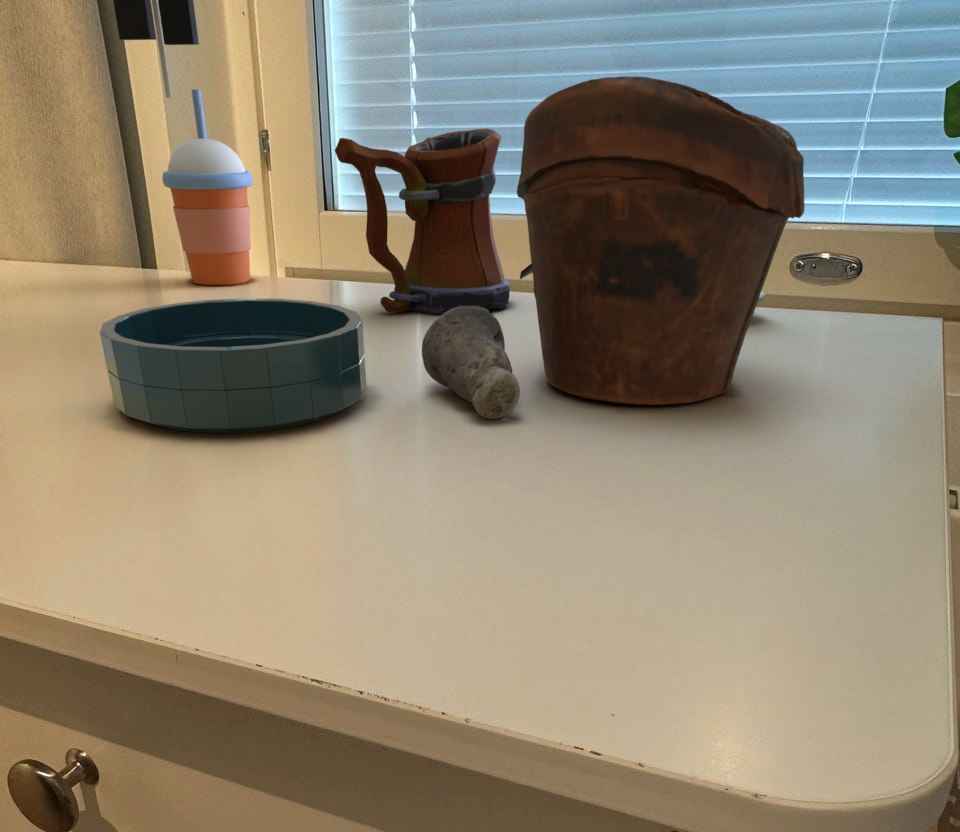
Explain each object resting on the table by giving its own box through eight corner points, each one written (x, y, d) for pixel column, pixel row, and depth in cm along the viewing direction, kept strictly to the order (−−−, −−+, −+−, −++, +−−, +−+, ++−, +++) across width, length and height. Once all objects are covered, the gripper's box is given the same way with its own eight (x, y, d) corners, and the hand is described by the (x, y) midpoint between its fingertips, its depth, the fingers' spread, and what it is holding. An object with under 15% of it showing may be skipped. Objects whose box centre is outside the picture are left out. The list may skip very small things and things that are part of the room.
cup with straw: (202, 273, 102) (176, 90, 93) (276, 276, 101) (257, 90, 92) (162, 286, 95) (130, 88, 85) (242, 289, 93) (217, 88, 84)
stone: (522, 438, 54) (579, 332, 56) (464, 380, 51) (526, 270, 52) (429, 441, 62) (482, 348, 63) (374, 391, 58) (430, 295, 60)
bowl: (61, 422, 53) (41, 336, 51) (210, 363, 66) (200, 292, 63) (290, 452, 49) (281, 360, 46) (403, 383, 62) (400, 307, 59)
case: (701, 346, 72) (736, 87, 63) (824, 417, 55) (895, 78, 46) (486, 353, 70) (490, 84, 60) (546, 430, 53) (563, 72, 43)
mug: (389, 330, 76) (380, 130, 69) (315, 310, 84) (300, 128, 76) (535, 305, 87) (542, 129, 79) (458, 290, 94) (458, 127, 86)
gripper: (44, -484, 48) (128, 32, 60) (223, -344, 63) (262, 48, 75) (-64, -462, 50) (37, 34, 62) (134, -331, 65) (186, 49, 77)
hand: (160, 41), depth 69 cm, fingers closed on lollipop, 5 cm apart
